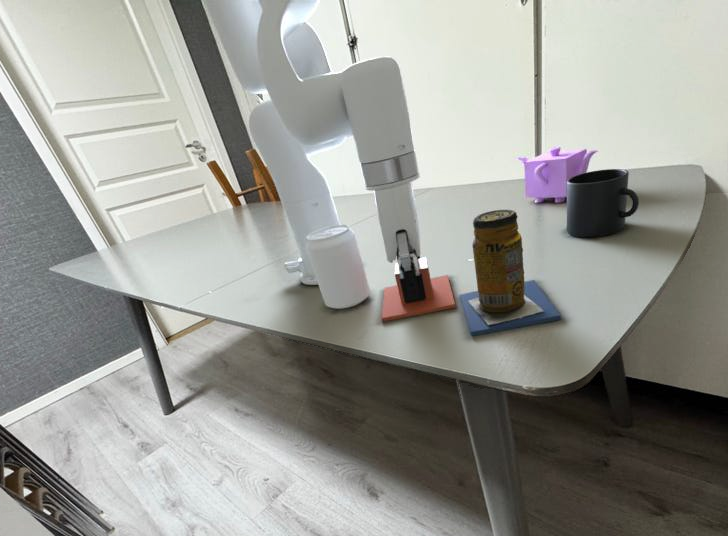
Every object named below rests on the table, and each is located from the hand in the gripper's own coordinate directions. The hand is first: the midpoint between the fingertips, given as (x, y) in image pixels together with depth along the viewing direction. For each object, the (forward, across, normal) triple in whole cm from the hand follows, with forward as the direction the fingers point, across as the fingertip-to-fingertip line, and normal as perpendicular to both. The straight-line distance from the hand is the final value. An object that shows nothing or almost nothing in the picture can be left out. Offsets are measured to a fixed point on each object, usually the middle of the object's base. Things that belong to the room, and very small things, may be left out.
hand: (414, 288), depth 63 cm
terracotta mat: (+2, 0, 0) cm, 2 cm away
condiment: (+1, +10, +12) cm, 15 cm away
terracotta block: (+1, 0, 0) cm, 1 cm away
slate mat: (+2, +9, +12) cm, 15 cm away
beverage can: (+2, -5, -12) cm, 13 cm away
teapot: (+2, -43, +35) cm, 55 cm away
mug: (+2, -14, +34) cm, 37 cm away
